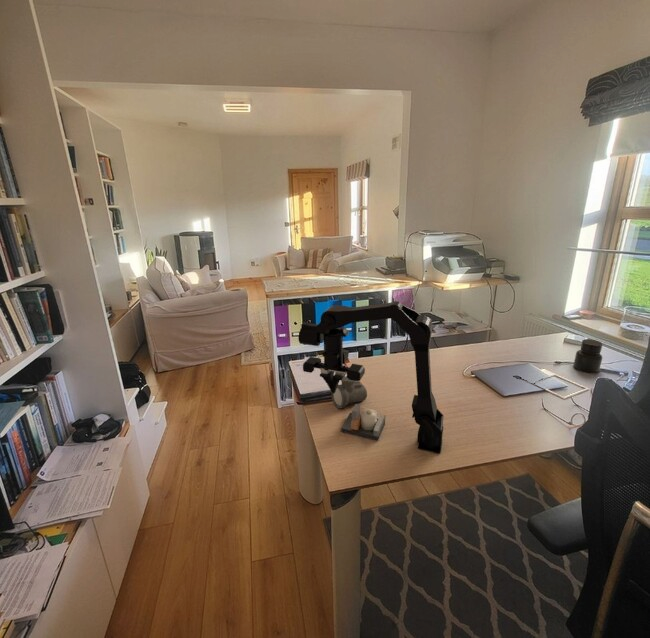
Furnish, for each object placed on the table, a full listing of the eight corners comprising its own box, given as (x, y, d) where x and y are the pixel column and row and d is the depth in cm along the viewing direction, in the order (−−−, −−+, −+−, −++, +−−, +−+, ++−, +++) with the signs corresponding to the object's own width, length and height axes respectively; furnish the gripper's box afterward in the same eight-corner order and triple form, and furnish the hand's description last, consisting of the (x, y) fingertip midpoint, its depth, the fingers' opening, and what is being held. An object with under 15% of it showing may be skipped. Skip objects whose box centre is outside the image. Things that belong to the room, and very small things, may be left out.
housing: (378, 422, 114) (378, 408, 112) (374, 431, 109) (375, 417, 107) (363, 419, 115) (363, 405, 114) (359, 428, 111) (359, 414, 109)
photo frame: (543, 368, 148) (589, 388, 132) (543, 370, 148) (588, 390, 133) (519, 376, 142) (564, 397, 126) (519, 378, 142) (563, 400, 127)
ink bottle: (589, 363, 153) (595, 337, 149) (605, 373, 144) (612, 346, 140) (567, 364, 152) (573, 338, 148) (582, 373, 144) (588, 347, 140)
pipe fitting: (340, 412, 121) (342, 384, 119) (329, 402, 128) (331, 376, 126) (369, 406, 126) (371, 380, 124) (357, 397, 133) (359, 372, 131)
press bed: (384, 424, 115) (385, 415, 114) (377, 440, 107) (378, 431, 106) (350, 416, 119) (350, 407, 118) (341, 431, 112) (341, 422, 111)
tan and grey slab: (364, 416, 117) (364, 399, 114) (357, 430, 110) (357, 413, 108) (358, 414, 117) (359, 398, 115) (351, 428, 110) (351, 411, 108)
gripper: (370, 341, 110) (369, 385, 115) (315, 334, 117) (317, 375, 122) (359, 356, 100) (358, 403, 105) (301, 347, 107) (303, 391, 112)
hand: (333, 392), depth 112 cm, fingers closed
